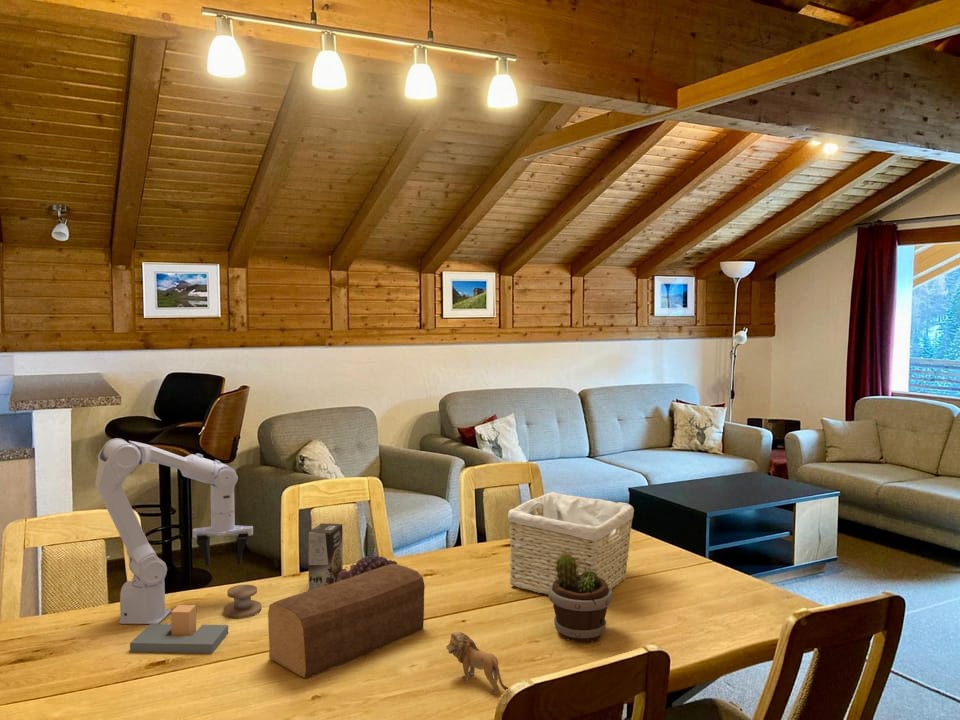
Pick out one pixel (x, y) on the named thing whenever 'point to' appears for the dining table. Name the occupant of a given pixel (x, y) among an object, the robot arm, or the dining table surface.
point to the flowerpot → (579, 601)
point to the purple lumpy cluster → (365, 566)
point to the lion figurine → (474, 659)
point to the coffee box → (325, 555)
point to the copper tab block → (183, 620)
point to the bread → (345, 619)
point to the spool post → (242, 602)
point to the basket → (568, 539)
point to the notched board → (179, 639)
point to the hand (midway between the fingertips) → (223, 563)
